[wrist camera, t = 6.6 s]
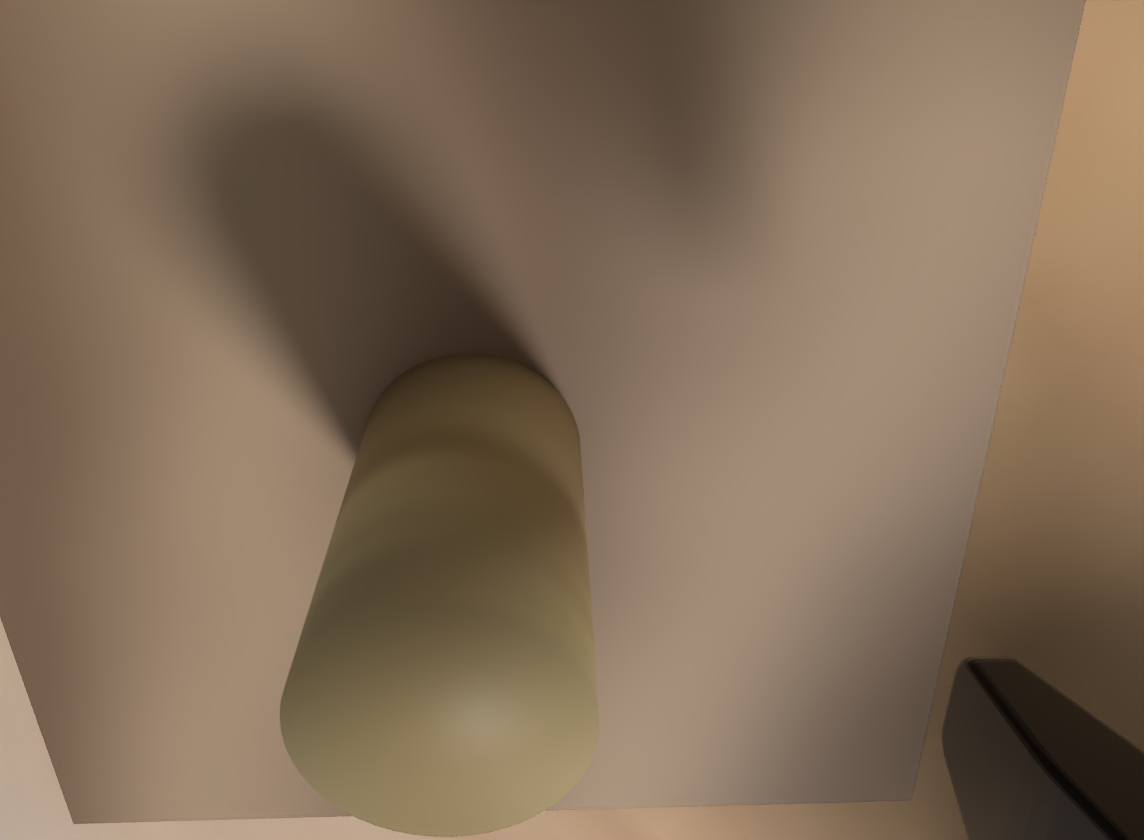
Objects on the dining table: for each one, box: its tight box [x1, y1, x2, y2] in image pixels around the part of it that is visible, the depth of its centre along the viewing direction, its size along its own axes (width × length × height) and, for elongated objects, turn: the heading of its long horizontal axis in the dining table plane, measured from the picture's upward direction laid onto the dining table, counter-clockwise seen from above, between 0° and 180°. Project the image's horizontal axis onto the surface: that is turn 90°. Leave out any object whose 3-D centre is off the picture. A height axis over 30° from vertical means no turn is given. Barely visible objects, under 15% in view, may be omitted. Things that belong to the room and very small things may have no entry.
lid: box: [0, 0, 1086, 837], centre depth 11 cm, size 13×13×6 cm
